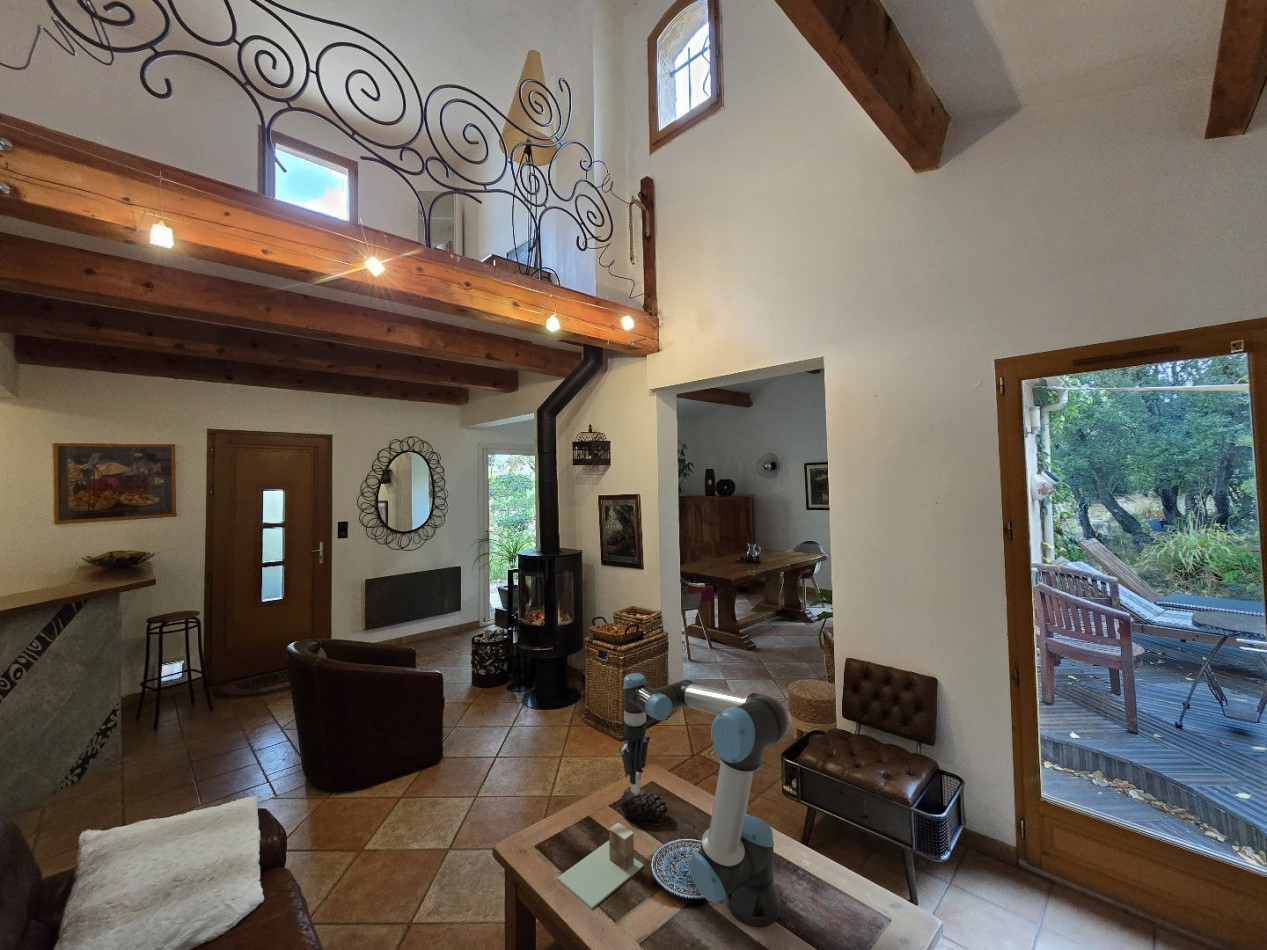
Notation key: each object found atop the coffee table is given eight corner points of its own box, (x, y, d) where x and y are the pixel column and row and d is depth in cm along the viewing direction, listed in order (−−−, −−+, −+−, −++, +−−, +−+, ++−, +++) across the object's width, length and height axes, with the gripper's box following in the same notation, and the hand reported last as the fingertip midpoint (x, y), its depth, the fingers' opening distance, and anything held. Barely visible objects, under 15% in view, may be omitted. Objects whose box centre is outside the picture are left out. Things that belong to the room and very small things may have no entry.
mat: (643, 866, 160) (643, 864, 160) (591, 909, 144) (591, 907, 144) (608, 842, 171) (608, 840, 171) (557, 879, 155) (557, 877, 155)
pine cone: (666, 828, 178) (666, 799, 178) (617, 823, 181) (617, 795, 181) (669, 809, 188) (669, 782, 188) (623, 804, 191) (622, 778, 191)
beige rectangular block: (633, 864, 160) (633, 832, 161) (625, 871, 157) (624, 839, 158) (618, 853, 165) (618, 822, 165) (609, 860, 162) (609, 828, 162)
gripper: (639, 711, 177) (640, 778, 177) (613, 724, 168) (613, 795, 168) (655, 718, 172) (656, 787, 172) (629, 732, 163) (629, 805, 162)
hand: (635, 791), depth 170 cm, fingers closed
